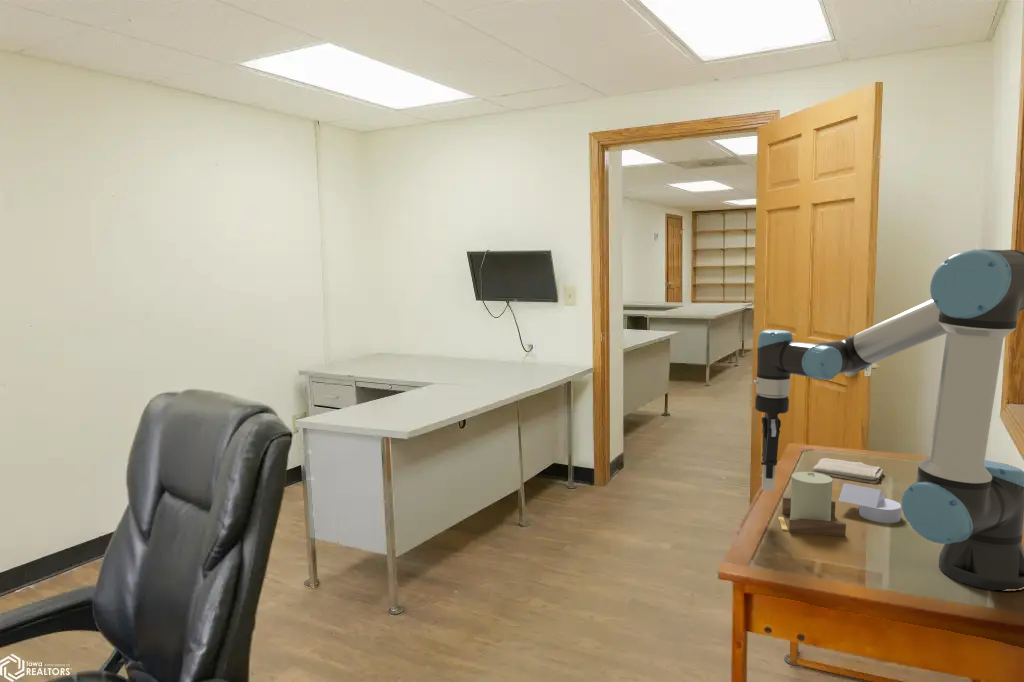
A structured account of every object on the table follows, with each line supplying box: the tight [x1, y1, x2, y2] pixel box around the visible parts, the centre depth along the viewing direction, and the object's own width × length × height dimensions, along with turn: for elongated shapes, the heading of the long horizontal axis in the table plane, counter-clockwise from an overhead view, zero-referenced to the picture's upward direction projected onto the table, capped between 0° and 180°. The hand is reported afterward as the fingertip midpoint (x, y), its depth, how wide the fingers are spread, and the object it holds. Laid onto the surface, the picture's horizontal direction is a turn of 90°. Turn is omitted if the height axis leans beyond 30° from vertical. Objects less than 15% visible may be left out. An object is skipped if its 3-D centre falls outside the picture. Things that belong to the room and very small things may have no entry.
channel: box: [777, 496, 847, 538], centre depth 165 cm, size 13×14×4 cm
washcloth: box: [811, 457, 884, 485], centre depth 202 cm, size 12×18×3 cm, turn 55°
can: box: [789, 471, 834, 521], centre depth 164 cm, size 9×9×12 cm
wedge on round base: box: [838, 482, 902, 524], centre depth 170 cm, size 9×7×13 cm
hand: (767, 489), depth 167 cm, fingers closed
